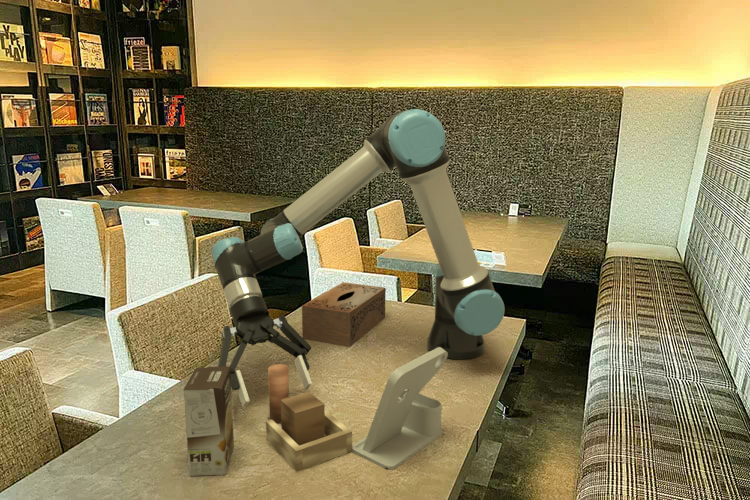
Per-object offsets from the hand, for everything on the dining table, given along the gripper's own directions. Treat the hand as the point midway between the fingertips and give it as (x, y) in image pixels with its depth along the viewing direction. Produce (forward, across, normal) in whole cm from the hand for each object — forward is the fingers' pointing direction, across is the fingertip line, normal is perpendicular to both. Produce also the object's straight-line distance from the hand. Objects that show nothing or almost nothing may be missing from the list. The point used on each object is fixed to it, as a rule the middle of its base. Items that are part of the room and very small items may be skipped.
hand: (278, 395), depth 115 cm
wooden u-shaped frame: (+12, -1, +4) cm, 12 cm away
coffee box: (+8, +16, 0) cm, 18 cm away
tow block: (+7, -1, -1) cm, 7 cm away
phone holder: (+18, -16, +10) cm, 26 cm away
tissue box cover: (-22, -40, -31) cm, 55 cm away
